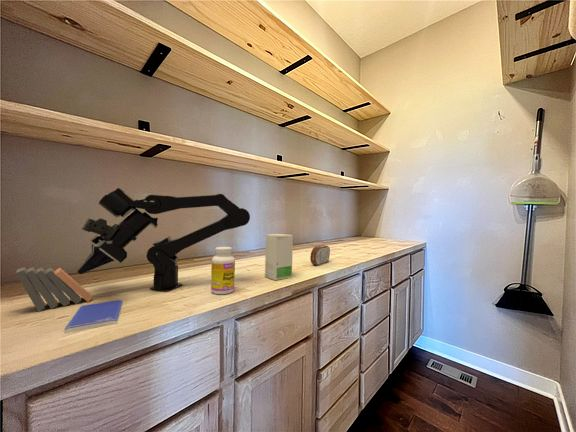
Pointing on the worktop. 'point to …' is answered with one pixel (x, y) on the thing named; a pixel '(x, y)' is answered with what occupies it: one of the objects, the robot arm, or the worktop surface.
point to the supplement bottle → (223, 271)
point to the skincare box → (278, 256)
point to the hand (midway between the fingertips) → (78, 272)
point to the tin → (320, 255)
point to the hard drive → (95, 316)
